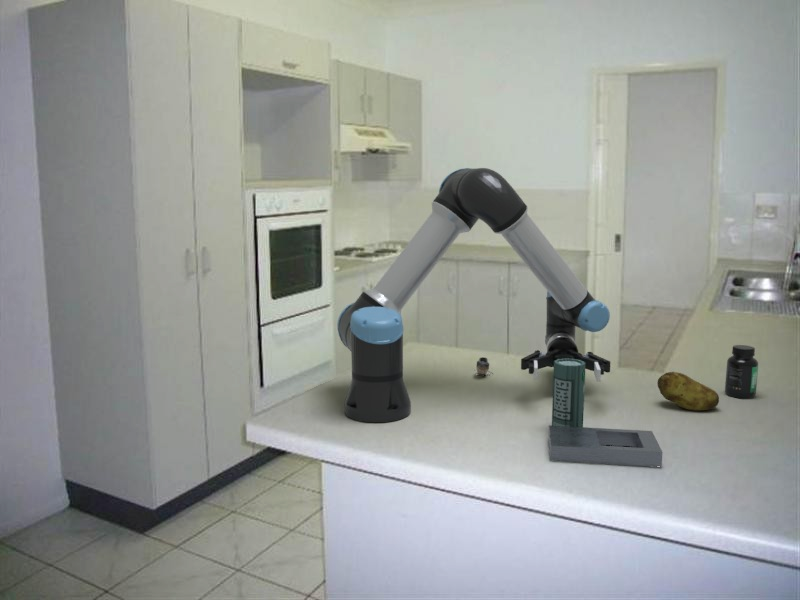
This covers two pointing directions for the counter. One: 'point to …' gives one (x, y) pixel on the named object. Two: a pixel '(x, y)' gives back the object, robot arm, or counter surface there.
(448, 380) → the counter surface
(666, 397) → the potato
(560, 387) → the can
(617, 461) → the grey slab with hole
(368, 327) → the robot arm
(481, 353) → the counter surface
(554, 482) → the counter surface
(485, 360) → the vase
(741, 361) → the supplement bottle
